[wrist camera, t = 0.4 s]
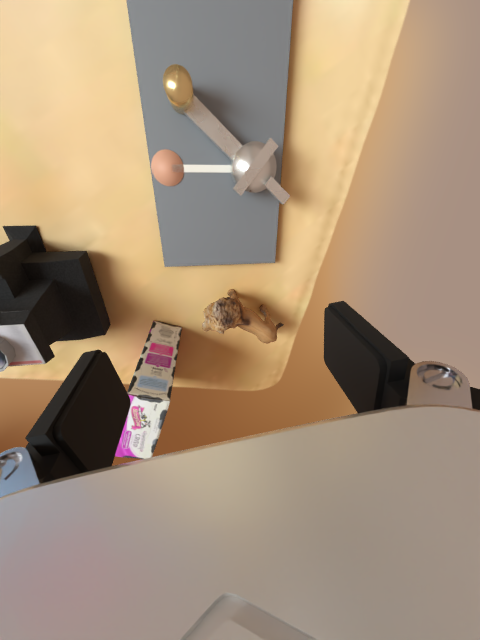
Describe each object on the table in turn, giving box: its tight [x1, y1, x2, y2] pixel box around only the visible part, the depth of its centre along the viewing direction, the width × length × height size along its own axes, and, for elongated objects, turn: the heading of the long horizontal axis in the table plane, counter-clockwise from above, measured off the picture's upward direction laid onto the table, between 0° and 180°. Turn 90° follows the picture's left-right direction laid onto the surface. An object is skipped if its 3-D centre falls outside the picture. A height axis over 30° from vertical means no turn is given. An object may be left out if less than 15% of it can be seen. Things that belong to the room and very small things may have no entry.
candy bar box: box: [115, 321, 182, 459], centre depth 37 cm, size 11×5×16 cm, turn 160°
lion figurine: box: [203, 289, 284, 343], centre depth 39 cm, size 15×5×9 cm, turn 65°
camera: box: [0, 226, 110, 372], centre depth 31 cm, size 16×14×15 cm
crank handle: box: [163, 64, 290, 205], centre depth 28 cm, size 16×6×5 cm, turn 50°
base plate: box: [127, 0, 293, 267], centre depth 31 cm, size 28×16×1 cm, turn 0°
